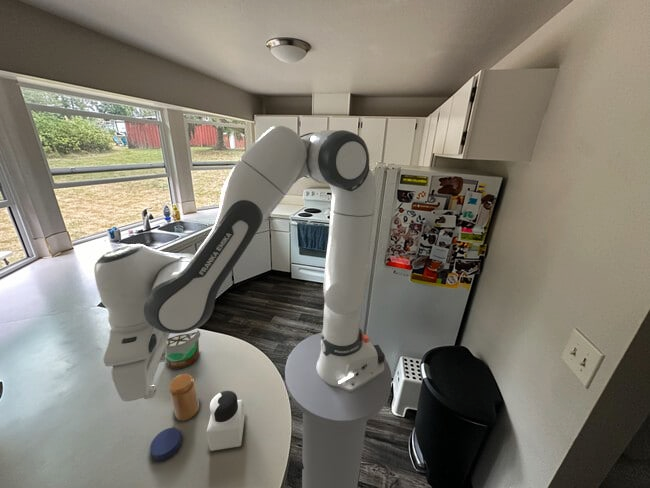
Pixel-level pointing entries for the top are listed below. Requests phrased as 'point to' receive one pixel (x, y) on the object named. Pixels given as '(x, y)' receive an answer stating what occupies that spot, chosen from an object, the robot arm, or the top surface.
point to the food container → (182, 350)
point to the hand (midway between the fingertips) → (157, 376)
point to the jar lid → (165, 444)
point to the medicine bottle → (225, 421)
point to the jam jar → (184, 397)
